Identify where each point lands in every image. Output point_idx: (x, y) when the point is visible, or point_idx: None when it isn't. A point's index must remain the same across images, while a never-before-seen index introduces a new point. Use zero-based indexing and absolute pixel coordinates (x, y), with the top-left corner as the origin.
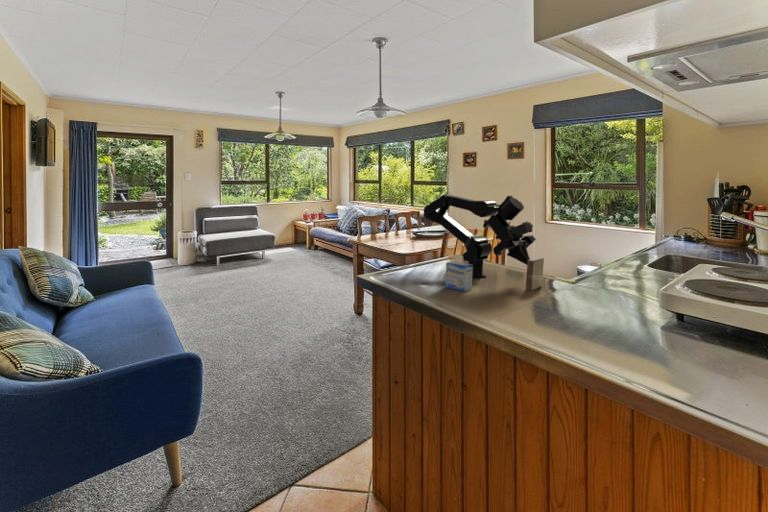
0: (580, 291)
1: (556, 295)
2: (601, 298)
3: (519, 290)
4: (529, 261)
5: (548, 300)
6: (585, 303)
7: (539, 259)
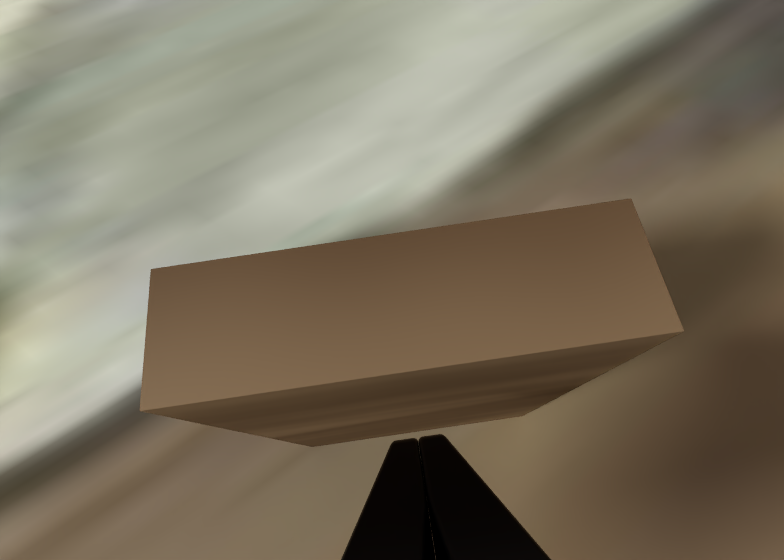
0: (200, 146)
1: (443, 169)
2: (268, 15)
3: (604, 430)
4: (650, 290)
5: (603, 127)
6: (445, 5)
7: (355, 239)
